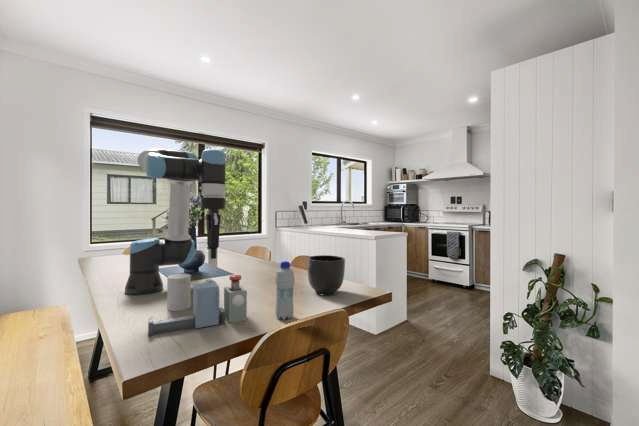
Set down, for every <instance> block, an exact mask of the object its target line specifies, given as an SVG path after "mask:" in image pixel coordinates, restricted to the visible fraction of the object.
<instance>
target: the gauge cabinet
mask: <svg viewBox="0 0 639 426" xmlns="http://www.w3.org/2000/svg"><path fill="white" fill-rule="evenodd" d="M223 291H224V292H223V309H224V310H225V320H227V322H228V323H234V322H240V321H245V320H247V318H248V317H247V315H248V314H247V312H248V311H247V308H248V307H247V304H248V302H247V301H248V300H247V299H248V297H247V296H248V293H247V292H248V291H247V290H246V289H245V288H244V287H243V286H242V285H239V290H236V291H231V286H224V287H223Z"/></svg>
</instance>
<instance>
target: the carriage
mask: <svg viewBox="0 0 639 426" xmlns="http://www.w3.org/2000/svg"><path fill="white" fill-rule="evenodd" d="M200 283H201V282H200ZM200 283H193V286H192V305H193V307H192V308H193V314H192V315H195V327H194V328H195V329H198V328H205V327H212V326H217V325H219V324H220V323H219V308H220V286H219V284H217V282H216V281H215V282H211V283H201V284H200Z"/></svg>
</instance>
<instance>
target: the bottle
mask: <svg viewBox="0 0 639 426" xmlns="http://www.w3.org/2000/svg"><path fill="white" fill-rule="evenodd" d="M279 266H280V268H279V269H277V270H276V276H275V285H276V293H275V294H276V297H275V299H276V302H275V316H276V318H277V319H278V320H283V321H284V320H285V321H286V318H287V320H290V319H291V318H292V317H293V316H294V285H295V273H294V272H295V271H294V270H293V269H291V262H289V261H287V260H286V261H285V260H283V261H281V262H280V265H279Z"/></svg>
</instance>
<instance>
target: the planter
mask: <svg viewBox="0 0 639 426" xmlns="http://www.w3.org/2000/svg"><path fill="white" fill-rule="evenodd" d="M345 268H346V258H345V257H343V256H338V255H327V254H326V255H324V254H321V255H313V256H312V255H311V256H309V257H307V278H308V282H309V285H310V287H311V289H313V290H314V292H315V293H316V294H317V293H318V294H317V295H319V294H323V295H322V296H330V295H329V294H333V295H335V294H336V293H337V291H338V290H339V289H340V288H341V287H342V286H343V282H344V278H345V271H346V270H345ZM334 293H335V294H334Z"/></svg>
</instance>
